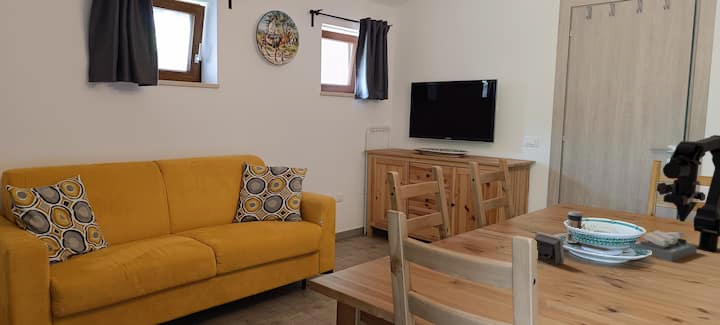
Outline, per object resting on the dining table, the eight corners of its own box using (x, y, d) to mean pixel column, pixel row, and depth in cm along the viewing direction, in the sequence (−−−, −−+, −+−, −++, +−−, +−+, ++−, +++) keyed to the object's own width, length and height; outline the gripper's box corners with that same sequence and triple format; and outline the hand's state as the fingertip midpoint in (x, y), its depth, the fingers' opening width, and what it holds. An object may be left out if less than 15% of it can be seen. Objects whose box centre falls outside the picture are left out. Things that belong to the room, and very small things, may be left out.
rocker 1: (648, 236, 175) (650, 231, 174) (668, 246, 169) (670, 241, 169) (643, 237, 172) (645, 233, 172) (663, 247, 167) (665, 242, 166)
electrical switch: (564, 264, 157) (565, 236, 155) (556, 268, 154) (556, 240, 152) (538, 256, 164) (539, 230, 162) (530, 260, 161) (530, 233, 159)
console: (660, 244, 184) (661, 233, 184) (696, 253, 175) (697, 241, 174) (634, 252, 173) (635, 240, 173) (671, 261, 163) (672, 249, 163)
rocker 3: (664, 237, 181) (663, 232, 182) (684, 237, 176) (683, 231, 176) (659, 238, 179) (658, 233, 179) (679, 238, 173) (679, 233, 174)
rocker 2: (656, 234, 178) (658, 229, 177) (675, 243, 173) (678, 239, 172) (651, 235, 176) (653, 231, 175) (670, 245, 171) (673, 240, 170)
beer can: (580, 245, 179) (583, 213, 178) (567, 244, 180) (570, 212, 179) (577, 241, 184) (580, 211, 183) (564, 240, 185) (567, 210, 184)
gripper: (673, 173, 179) (669, 213, 181) (649, 175, 169) (645, 219, 171) (708, 177, 170) (703, 220, 172) (685, 180, 160) (679, 226, 162)
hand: (681, 221), depth 169 cm, fingers closed
